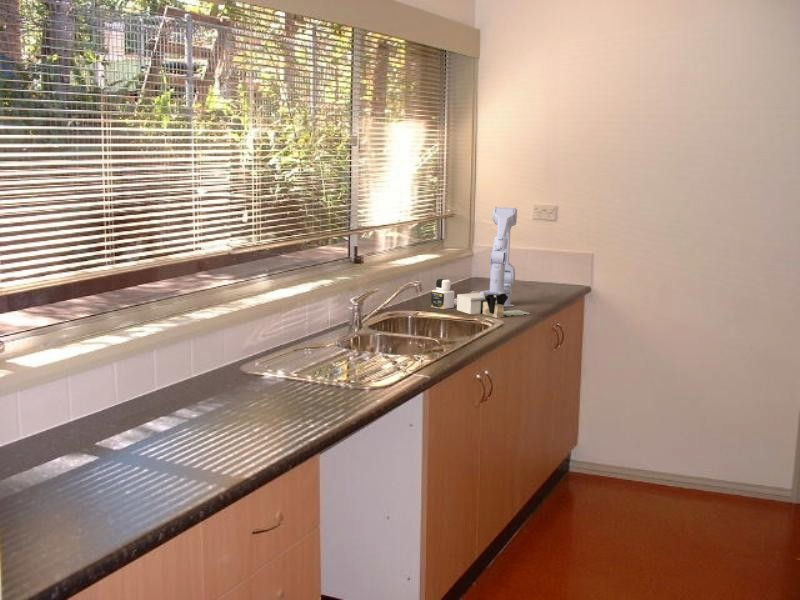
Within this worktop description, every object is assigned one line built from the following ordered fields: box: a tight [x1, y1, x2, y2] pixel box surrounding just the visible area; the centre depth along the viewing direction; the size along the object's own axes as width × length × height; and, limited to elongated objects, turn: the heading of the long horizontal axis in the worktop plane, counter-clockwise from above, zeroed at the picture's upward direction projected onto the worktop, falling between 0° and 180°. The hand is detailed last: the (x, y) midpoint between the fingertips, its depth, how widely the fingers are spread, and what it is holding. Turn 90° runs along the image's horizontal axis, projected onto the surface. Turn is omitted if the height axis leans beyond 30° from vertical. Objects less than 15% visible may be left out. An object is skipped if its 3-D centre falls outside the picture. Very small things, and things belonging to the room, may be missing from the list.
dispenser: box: [456, 292, 497, 315], centre depth 397 cm, size 10×14×7 cm
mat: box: [503, 309, 531, 317], centre depth 395 cm, size 8×12×1 cm, turn 121°
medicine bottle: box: [430, 278, 455, 310], centre depth 403 cm, size 7×7×12 cm
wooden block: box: [482, 302, 505, 319], centre depth 388 cm, size 10×3×5 cm, turn 31°
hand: (495, 312), depth 387 cm, fingers closed on wooden block, 3 cm apart
